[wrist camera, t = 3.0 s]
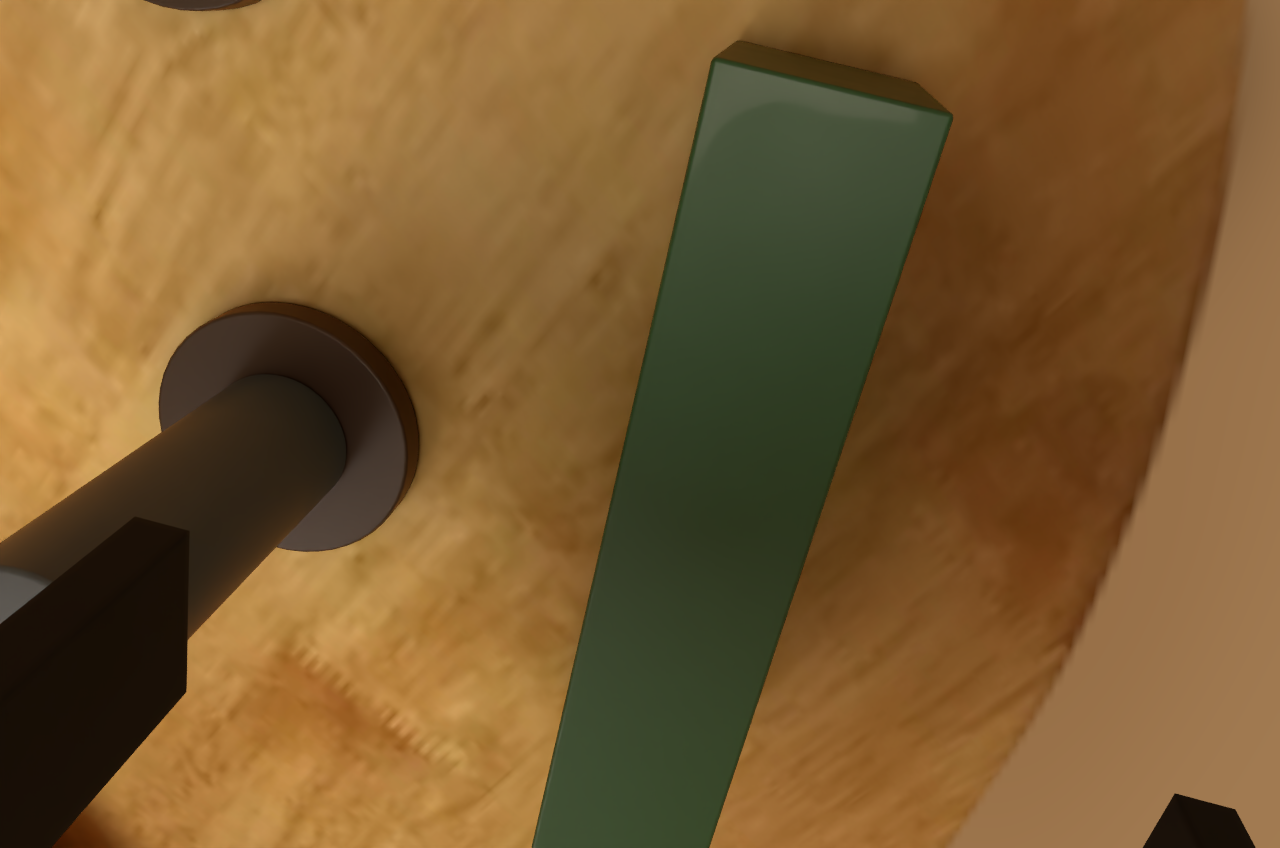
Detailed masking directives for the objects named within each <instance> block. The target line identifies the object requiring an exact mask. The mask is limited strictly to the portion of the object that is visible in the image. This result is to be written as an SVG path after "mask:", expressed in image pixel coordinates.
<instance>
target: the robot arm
mask: <svg viewBox="0 0 1280 848" xmlns="http://www.w3.org/2000/svg"><path fill="white" fill-rule="evenodd" d="M189 538H190V531H188V530H184V529H181V528H177V527H173V526H169V525H166V524H162V523H158V522H154V521H151V520H147V519H143V518H139V517H136V516H135V517H133V518H132V519H131V520H130V521H128V522H127V523H126V524H125V525H123V526H122V527H121V528H120V529H118V530H117V531H116V532H115V533H113V534H112V535H111V536H110V537H108V538H107V539H106V540H105V541H103V542H102V543H101V544H100V545H98V546H97V547H96V548H95V549H93V550H92V551H91V552H90V553H88V554H87V555H86V556H85V557H83V558H82V559H81V560H80V561H78V562H77V563H76V564H75V565H73V566H72V567H71V568H70V569H68V570H67V571H66V572H64V573H63V574H62V575H61V576H59V577H58V578H57V579H56V580H54V581H53V582H52V583H51V584H49V585H48V586H47V587H46V588H44V589H43V590H42V591H41V592H39V593H38V594H37V595H36V596H34V597H33V598H32V599H31V600H29V601H28V602H27V603H26V604H24V605H23V606H22V607H21V608H19V609H18V610H17V611H16V612H14V613H13V614H12V615H11V616H9V617H8V618H7V619H6V620H4V621H3V622H2V623H1V624H0V848H51V847H52V846H53V845H54V844H55V842H56V841H57V840H58V839H59V838H60V837H61V836H62V834H63V833H64V832H65V831H66V830H67V829H68V827H69V826H70V825H71V824H72V823H73V822H74V821H75V819H76V818H77V817H78V816H79V815H80V814H81V812H82V811H83V810H84V809H85V808H86V807H87V806H88V804H89V803H90V802H91V801H92V800H93V799H94V798H95V796H96V795H97V794H98V793H99V792H100V791H101V789H102V788H103V787H104V786H105V785H106V784H107V783H108V781H109V780H110V779H111V778H112V777H113V776H114V775H115V773H116V772H117V771H118V770H119V769H120V768H121V766H122V765H123V764H124V763H125V762H126V761H127V760H128V758H129V757H130V756H131V755H132V754H133V753H134V752H135V750H136V749H137V748H138V747H139V746H140V745H141V743H142V742H143V741H144V740H145V739H146V738H147V737H148V735H149V734H150V733H151V732H152V731H153V730H154V728H155V727H156V726H157V725H158V724H159V723H160V722H161V720H162V719H163V718H164V717H165V716H166V715H167V714H168V712H169V711H170V710H171V709H172V708H173V707H174V705H175V704H176V703H177V702H178V701H179V700H180V699H181V697H182V696H183V695H184V694H185V693H186V686H187V637H188V587H189ZM1143 848H1255V846H1254V844H1253V842H1252V840H1251V839H1250V836H1249V834H1248V833H1247V831H1246V829H1245V827H1244V825H1243V823H1242V821H1241V819H1240V818H1239V816H1238V814H1237V812H1236V810H1235V809H1232V808H1227V807H1224V806H1220V805H1217V804H1212V803H1208V802H1205V801H1201V800H1198V799H1194V798H1190V797H1186V796H1183V795H1179V794H1174V796H1173V797H1172V799H1171V801H1170V803H1169V805H1168V806H1167V808H1166V809H1165V811H1164V813H1163V815H1162V816H1161V818H1160V819H1159V821H1158V823H1157V825H1156V826H1155V828H1154V830H1153V831H1152V833H1151V835H1150V837H1149V838H1148V840H1147V841H1146V843H1145V845H1144V847H1143Z"/></svg>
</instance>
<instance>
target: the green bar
mask: <svg viewBox="0 0 1280 848" xmlns="http://www.w3.org/2000/svg"><path fill="white" fill-rule="evenodd" d="M952 121H953V115H952V114H951V113H950V112H949V111H948V110H947V109H946V108H945V107H943V106H942V105H941V104H940V103H939V102H938V101H937V100H936V99H935V98H933V97H932V96H931V95H930V94H929V93H928V92H927V91H926V90H924V89H923V88H922V87H921V86H920V85H919V84H918V83H916V82H912V81H908V80H904V79H900V78H895V77H891V76H887V75H883V74H879V73H874V72H870V71H866V70H862V69H858V68H853V67H849V66H845V65H841V64H837V63H832V62H828V61H824V60H820V59H816V58H811V57H807V56H803V55H799V54H795V53H790V52H786V51H782V50H778V49H774V48H769V47H765V46H761V45H757V44H753V43H748V42H744V41H736V42H735V43H733V44H732V45H731V46H729V47H728V48H726V49H725V50H724V51H722V52H721V53H720V54H718V55H717V56H715V57H714V58H713V60H712V61H711V65H710V70H709V74H708V78H707V83H706V87H705V92H704V96H703V100H702V105H701V109H700V113H699V118H698V122H697V127H696V131H695V135H694V140H693V144H692V148H691V153H690V157H689V162H688V166H687V170H686V175H685V179H684V183H683V188H682V192H681V196H680V201H679V205H678V210H677V214H676V218H675V223H674V227H673V231H672V236H671V240H670V245H669V249H668V253H667V258H666V262H665V266H664V271H663V275H662V280H661V284H660V288H659V293H658V297H657V301H656V306H655V310H654V315H653V319H652V323H651V328H650V332H649V336H648V341H647V345H646V349H645V354H644V358H643V363H642V367H641V371H640V376H639V380H638V384H637V389H636V393H635V398H634V402H633V406H632V411H631V415H630V419H629V424H628V428H627V433H626V437H625V441H624V446H623V450H622V454H621V459H620V463H619V468H618V472H617V476H616V481H615V485H614V489H613V494H612V498H611V502H610V507H609V511H608V516H607V520H606V524H605V529H604V533H603V537H602V542H601V546H600V551H599V555H598V559H597V564H596V568H595V572H594V577H593V581H592V586H591V590H590V594H589V599H588V603H587V607H586V612H585V616H584V621H583V625H582V629H581V634H580V638H579V642H578V647H577V651H576V655H575V660H574V664H573V669H572V673H571V677H570V682H569V686H568V690H567V695H566V699H565V704H564V708H563V712H562V717H561V721H560V725H559V730H558V734H557V739H556V743H555V747H554V752H553V756H552V760H551V765H550V769H549V774H548V778H547V782H546V787H545V791H544V795H543V800H542V804H541V808H540V813H539V817H538V822H537V826H536V830H535V835H534V839H533V843H532V848H709V847H710V844H711V841H712V838H713V835H714V832H715V829H716V826H717V823H718V820H719V817H720V814H721V811H722V808H723V805H724V802H725V799H726V796H727V793H728V790H729V787H730V784H731V781H732V778H733V775H734V772H735V769H736V766H737V763H738V760H739V757H740V754H741V751H742V748H743V745H744V742H745V739H746V736H747V733H748V730H749V727H750V724H751V721H752V718H753V715H754V712H755V709H756V706H757V703H758V700H759V697H760V694H761V691H762V688H763V685H764V682H765V679H766V676H767V673H768V670H769V667H770V664H771V662H772V659H773V656H774V653H775V650H776V647H777V644H778V641H779V638H780V635H781V632H782V629H783V626H784V623H785V620H786V617H787V614H788V611H789V608H790V605H791V602H792V599H793V596H794V593H795V590H796V587H797V584H798V581H799V578H800V575H801V572H802V569H803V566H804V563H805V560H806V557H807V554H808V551H809V548H810V545H811V542H812V539H813V536H814V533H815V530H816V527H817V524H818V521H819V518H820V515H821V512H822V509H823V506H824V503H825V500H826V497H827V494H828V491H829V488H830V485H831V482H832V479H833V476H834V473H835V470H836V467H837V464H838V461H839V458H840V455H841V452H842V449H843V446H844V443H845V440H846V437H847V434H848V431H849V429H850V426H851V423H852V420H853V417H854V414H855V411H856V408H857V405H858V402H859V399H860V396H861V393H862V390H863V387H864V384H865V381H866V378H867V375H868V372H869V369H870V366H871V363H872V360H873V357H874V354H875V351H876V348H877V345H878V342H879V339H880V336H881V333H882V330H883V327H884V324H885V321H886V318H887V315H888V312H889V309H890V306H891V303H892V300H893V297H894V294H895V291H896V288H897V285H898V282H899V279H900V276H901V273H902V270H903V267H904V264H905V261H906V258H907V255H908V252H909V249H910V246H911V243H912V240H913V237H914V234H915V231H916V228H917V225H918V222H919V219H920V216H921V213H922V210H923V207H924V204H925V201H926V199H927V196H928V193H929V190H930V187H931V184H932V181H933V178H934V175H935V172H936V169H937V166H938V163H939V160H940V157H941V154H942V151H943V148H944V145H945V142H946V139H947V136H948V133H949V130H950V127H951V124H952Z"/></svg>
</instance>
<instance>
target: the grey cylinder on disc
mask: <svg viewBox="0 0 1280 848" xmlns="http://www.w3.org/2000/svg"><path fill="white" fill-rule="evenodd" d="M159 419H160V425H161V431H162V432H161V433H160V434H158V435H157V436H156V437H154V438H153V439H151V440H150V441H148V442H147V443H145V444H144V445H142V446H141V447H139V448H138V449H137V450H135V451H134V452H132V453H131V454H129V455H128V456H126V457H125V458H123V459H122V460H121V461H119V462H118V463H116V464H115V465H113V466H112V467H110V468H109V469H107V470H106V471H104V472H103V473H102V474H100V475H99V476H97V477H96V478H94V479H93V480H91V481H90V482H88V483H87V484H86V485H84V486H83V487H81V488H80V489H78V490H77V491H75V492H74V493H72V494H71V495H70V496H68V497H67V498H65V499H64V500H62V501H61V502H59V503H58V504H56V505H55V506H53V507H52V508H51V509H49V510H48V511H46V512H45V513H43V514H42V515H40V516H39V517H37V518H36V519H35V520H33V521H32V522H30V523H29V524H27V525H26V526H24V527H23V528H21V529H20V530H18V531H17V532H16V533H14V534H13V535H11V536H10V537H8V538H7V539H5V540H4V541H2V542H1V543H0V624H1V623H2V622H3V621H4V620H6V619H7V618H8V617H9V616H11V615H12V614H13V613H14V612H16V611H17V610H18V609H19V608H21V607H22V606H23V605H24V604H26V603H27V602H28V601H29V600H31V599H32V598H33V597H34V596H36V595H37V594H38V593H39V592H41V591H42V590H43V589H44V588H46V587H47V586H48V585H49V584H51V583H52V582H53V581H54V580H56V579H57V578H58V577H59V576H61V575H62V574H63V573H64V572H66V571H67V570H68V569H70V568H71V567H72V566H73V565H75V564H76V563H77V562H78V561H80V560H81V559H82V558H83V557H85V556H86V555H87V554H88V553H90V552H91V551H92V550H93V549H95V548H96V547H97V546H98V545H100V544H101V543H102V542H103V541H105V540H106V539H107V538H108V537H110V536H111V535H112V534H113V533H115V532H116V531H117V530H118V529H120V528H121V527H122V526H123V525H125V524H126V523H127V522H128V521H130V520H131V519H132V518H133V517H135V516H136V517H139V518H143V519H147V520H151V521H154V522H158V523H162V524H166V525H169V526H173V527H177V528H181V529H184V530H188V531H190V538H189V587H188V637H187V640H188V639H189V638H190V637H191V636H192V635H193V634H194V633H195V632H196V631H197V629H198V628H199V627H200V626H201V625H202V624H203V623H204V622H205V621H206V620H207V619H208V618H209V617H210V616H211V615H212V614H213V613H214V612H215V611H216V610H217V609H218V607H219V606H220V605H221V604H222V603H223V602H224V601H225V600H226V599H227V598H228V597H229V596H230V595H231V594H232V593H233V592H234V591H235V590H236V589H237V588H238V587H239V585H240V584H241V583H242V582H243V581H244V580H245V579H246V578H247V577H248V576H249V575H250V574H251V573H252V572H253V571H254V570H255V569H256V568H257V567H258V566H259V565H260V563H261V562H262V561H263V560H264V559H265V558H266V557H267V556H268V555H269V554H270V553H271V552H272V551H273V550H274V549H275V548H276V547H278V548H282V549H287V550H294V551H303V552H309V551H325V550H333V549H336V548H340V547H344V546H347V545H350V544H352V543H354V542H357V541H359V540H361V539H363V538H364V537H366V536H368V535H369V534H371V533H372V532H374V531H375V530H376V529H377V528H378V527H379V526H381V525H382V524H383V523H384V522H385V520H386V519H387V518H388V517H389V516H390V514H391V513H392V512H393V511H394V509H395V508H396V507H397V506H398V504H399V503H400V502H401V501H402V499H403V498H404V496H405V494H406V492H407V491H408V489H409V487H410V485H411V482H412V480H413V477H414V474H415V470H416V466H417V461H418V449H419V442H418V428H417V423H416V418H415V413H414V410H413V407H412V405H411V402H410V399H409V396H408V394H407V392H406V390H405V388H404V386H403V384H402V382H401V380H400V379H399V377H398V376H397V374H396V372H395V371H394V369H393V368H392V366H391V365H390V364H389V363H388V361H387V360H386V359H385V358H384V356H383V355H382V354H381V353H380V352H379V351H378V350H377V349H376V348H375V347H374V346H373V345H372V344H371V343H370V342H369V341H368V340H366V339H365V338H364V337H363V336H361V335H360V334H359V333H358V332H356V331H355V330H354V329H352V328H350V327H349V326H347V325H346V324H344V323H343V322H341V321H339V320H337V319H335V318H333V317H331V316H329V315H327V314H325V313H322V312H319V311H316V310H313V309H310V308H308V307H303V306H298V305H294V304H288V303H275V302H269V303H255V304H250V305H245V306H241V307H238V308H235V309H232V310H230V311H227V312H225V313H223V314H222V315H220V316H218V317H216V318H214V319H213V320H211V321H209V322H207V323H205V324H204V325H202V326H200V327H198V328H197V329H196V330H195V331H193V332H192V333H191V334H190V335H188V336H187V337H186V338H185V339H184V341H183V342H182V343H181V344H180V345H179V346H178V347H177V349H176V350H175V352H174V354H173V355H172V357H171V358H170V360H169V363H168V365H167V367H166V370H165V372H164V375H163V379H162V383H161V387H160V395H159Z"/></svg>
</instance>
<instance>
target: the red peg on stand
mask: <svg viewBox="0 0 1280 848" xmlns="http://www.w3.org/2000/svg"><path fill="white" fill-rule="evenodd" d="M145 1H148V2H151V3H153V4H156V5H159V6H162V7H168V8H173V9H178V10H190V11H212V10H226V9H235V8H240V7H244V6H247V5H251V4H254V3H257V2H259V1H261V0H145Z"/></svg>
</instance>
